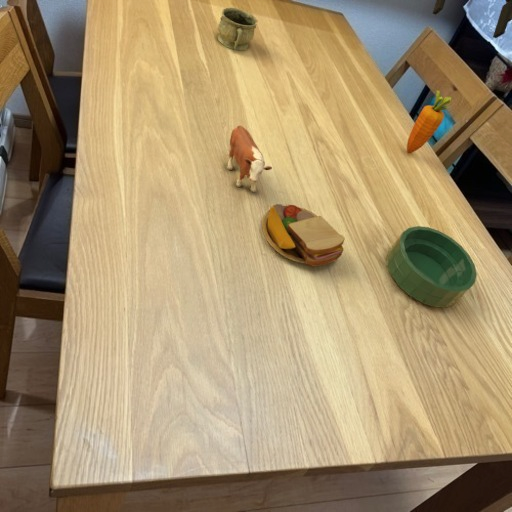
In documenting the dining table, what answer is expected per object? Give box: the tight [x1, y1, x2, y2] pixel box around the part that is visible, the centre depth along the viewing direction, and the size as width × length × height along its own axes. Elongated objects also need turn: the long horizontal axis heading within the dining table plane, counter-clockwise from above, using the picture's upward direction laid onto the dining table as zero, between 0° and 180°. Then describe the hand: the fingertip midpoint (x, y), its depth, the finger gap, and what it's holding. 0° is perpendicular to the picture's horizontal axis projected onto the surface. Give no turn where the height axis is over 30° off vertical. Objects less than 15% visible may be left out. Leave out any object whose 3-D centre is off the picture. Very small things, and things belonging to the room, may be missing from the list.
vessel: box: [217, 7, 258, 51], centre depth 117 cm, size 12×9×6 cm
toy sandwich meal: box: [261, 203, 346, 267], centre depth 78 cm, size 12×14×5 cm
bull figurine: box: [226, 124, 273, 193], centre depth 83 cm, size 4×13×8 cm, turn 15°
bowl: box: [386, 225, 478, 308], centre depth 81 cm, size 14×14×5 cm
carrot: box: [406, 90, 453, 155], centre depth 103 cm, size 5×5×15 cm
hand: (468, 23), depth 97 cm, fingers open, 13 cm apart
